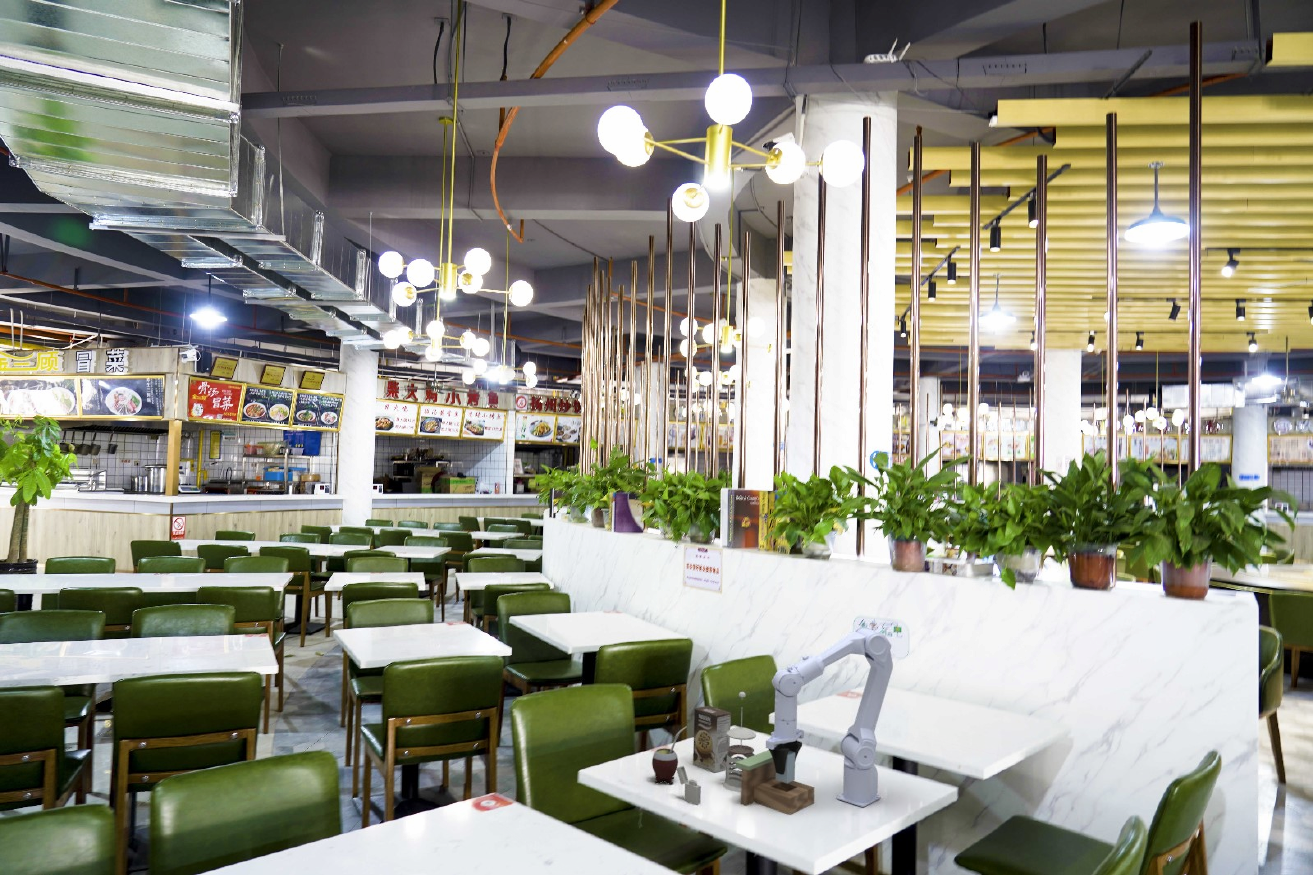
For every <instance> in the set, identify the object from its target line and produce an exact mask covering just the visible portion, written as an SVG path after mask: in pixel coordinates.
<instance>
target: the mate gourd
mask: <svg viewBox="0 0 1313 875" xmlns="http://www.w3.org/2000/svg"><path fill="white" fill-rule="evenodd" d="M686 729H687V726H686V725H685V726H684V727H683V728H681V729H680V730H678V732H677V733H676V734H675V735H674V740H673V743H672V745H671V748H658V749H656V750H655V752H654V753H653V756H652V758H651V761H652V762H651V766H652V769H653V772H654V775H655V781H654V784H656V783H658V784H662V783H666V784H668V783H669V784H668V785H673V784H674V782H673V780H675V777H674V775H675V774H676V772H677V770H676V768H678V767H679V766H678V765H679V759H678V754H677V753H676V751H675V750H674V748H675V746H676V742H677V739H678V738H679V737H680V734H681V733H682V732H683V731H684V730H686ZM661 782H662V783H661Z"/></svg>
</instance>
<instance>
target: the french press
mask: <svg viewBox="0 0 1313 875" xmlns="http://www.w3.org/2000/svg"><path fill="white" fill-rule="evenodd" d="M738 697H740V698H741V699H744V698H745V697H747V696H746V693H745V692H744V691H740V692H739V693H738ZM740 709H741V715H740V718H741V720H740V722H741V723H740V726H741V727H739V726H738V727H734V728H730V730H729V731H728V732H727V735H728V736H729V737H730V739H734V740H738V741H739V740H740V744H734V745H733V744H732V745H730V747H728V750H729V752H728V753H727V764H726V763H724V762H723V761H722V760H721V759H720V757H719V755H718V745H719V743H720V742H721V741H723V740H726V743H728V738H727V737H724V738H727V739H724V738H722V739H723V740H722V739H721V740H720V741H719V743H718V745H717V748H716V756H717V755H718V756H717V759H718V758H719V759H720V760H721V762H723V763H724V764H726V766H725V765H724V764H722V763H721V762H720V761H719V759H718V761H719V762H720V763H721V764H722V765H724V766H725V767H726V770H725V780H724V781H723V782H722V787H723V788H725V789H726V790H729V791H731V792H737V793H741V783H742V768H740V767H737V766H736V762H738V761H740V760H743V759H746V758H748V757H751V756H754V755H756V754H755V753H754V752H755V749H754V748H753V747H751V746H749V745H744V744H742V743H743V742H742V741H744V740H747V741H748V740H753V739H755V738H756V737H757V733H755V732H754V731H753V730H752V729H751V728H750V729H749V728H748V727H744V726H743V708H740ZM735 755H738V756H735ZM739 755H741V756H739ZM736 769H738V770H736Z"/></svg>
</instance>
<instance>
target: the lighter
mask: <svg viewBox="0 0 1313 875" xmlns="http://www.w3.org/2000/svg"><path fill="white" fill-rule="evenodd" d="M676 772H677V776H678V779H679V783H680V784H681V785H684V802H687V803H690V804H692V805H695V806H698V805H699V804H701V798H702V797H701V794H702V793H701V792H702V791H701V788H702V786H701V785H699V784H698V782H697V780H695V779H689V778H688V775H687V772H686V769H685V766H684V765H680V766H677V768H676Z"/></svg>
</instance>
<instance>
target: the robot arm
mask: <svg viewBox="0 0 1313 875" xmlns="http://www.w3.org/2000/svg"><path fill="white" fill-rule="evenodd" d="M891 648H892V644H891V642H890V641H889V639H888V638H887V637H886V635H884V633H881V632H878V631H875V630H872V629H870V628H869V627H867V626H861V627H857V629H855V630H853V631H850V632H849V633H848V634H847V635H846V636H845V637H843V638H842V639H841V640H839V641H837V642H836V643H834V644H833V645H831V646H830V647H829V648H827V649H826V650H824V651H823V652H822V653H820V654H818V655H814V654H809V655H808V654H805V655H803V656H802V657H801V658H802V659H801V660H800V661H798V662H795V663H793V665H790V664H789V665H787V669H780V670H778V671H777V672H775V674H774V675H773V677H772V678H773V679H771V684H772V686H773V687H774V695H775V696H774V722H773V723H774V725H773V726H774V729H773V731H772V732H770V737H769V738H768V739H766V740H765V749H768V750H769V751H770V753H771V755H772V758H773V761H774V765H775V770H776V773H778V774H781V775H783V774H784V772H785V765H786V759H787V755H788V752H789V751H792V752H795V762H796V760H797V757H798V755H799V753H800V750H801V748H802V747H803V742H802V741H799V740H800V739H804V738H805V731H804V730H803V729H799V728H797V726H798V695H799V694H800V691H801V690H802V687H804V686H805V685H807V684H809V683H811V682H813V681H814V680H816V679H817V678H819V677H820V676H822V675H823V674H824V672H825V668H827V667H828V666H830V665H832V664H834V663H835V662H838V661H839V660H841V659H843V658H845V657H848V656H849V655H851V654H853V655H860V656H861V655H862V656H864V657H865V658H866V661H867V662H868V664H869V666H870V669H869V672H868V675H867V679H866V682H865V686H864V689H863V693H862V696H861V698H860V699H861V700H860V703H859V705H858V706H859V707H858V709H857V713H856V716H855V721H854V723H853V724H852V725H851V726H850V727H848V729H847V732H846V734H845V735H844V736H843V738H842V739H841V741H840V744H839V749H840V752H841V753H842V755H843V758H844V760H843V776H842V778H843V785H842V787H843V789H842V792H843V793H841V794H839V795H837V796H836V799H837V800H840V801H843V802H845V803H848V804H853V805H855V806H858V807H861V808H865V807H866V806H868V805H870V804H872V803H874V802H875V801H878V800H879V799H882V797H881V795H879V793H878V791H879V790H878V787H879V786H878V785H879V780H878V779H879V774H878V773H879V772H878V769H877V768H876V767H877V766H876V765H875V762H876V760H877V752H876V751H877V750H876V748H877V745H878V741H877V739H876V734H875V730H876V727H877V725H878V720H879V717H880V715H881V709H882V706H883V702H884V701H885V700H884V699H885V697H886V696H885V695H886V693H887V690H888V686H889V683H890V680H891V675H892V672H893V667H894V665H893V658H892V652H891Z"/></svg>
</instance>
